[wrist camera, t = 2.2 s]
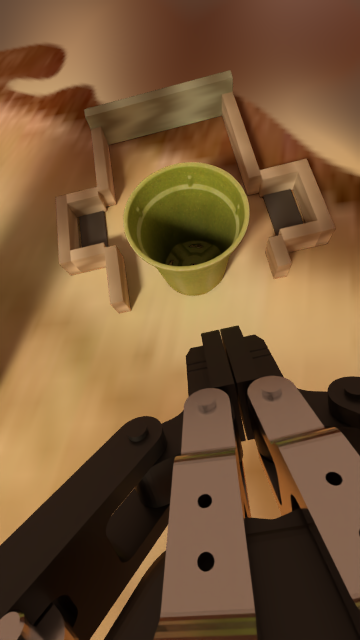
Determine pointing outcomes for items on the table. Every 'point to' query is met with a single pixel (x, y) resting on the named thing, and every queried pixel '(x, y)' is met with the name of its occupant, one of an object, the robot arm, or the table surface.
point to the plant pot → (187, 223)
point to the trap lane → (167, 113)
